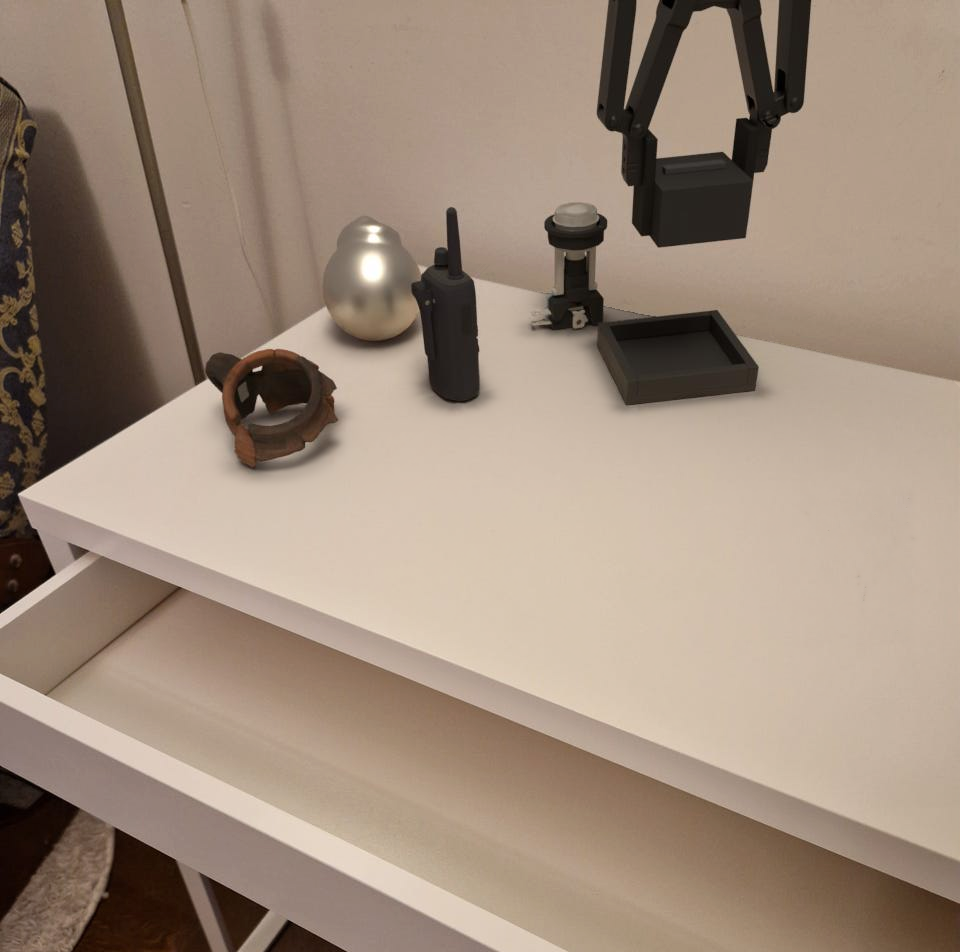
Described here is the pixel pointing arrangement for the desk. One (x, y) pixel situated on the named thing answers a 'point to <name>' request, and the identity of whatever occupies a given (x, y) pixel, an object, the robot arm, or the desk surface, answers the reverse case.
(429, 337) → the two-way radio
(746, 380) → the base pad
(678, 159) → the top pad
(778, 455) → the desk surface
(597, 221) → the push button
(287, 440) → the pottery mug
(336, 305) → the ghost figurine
